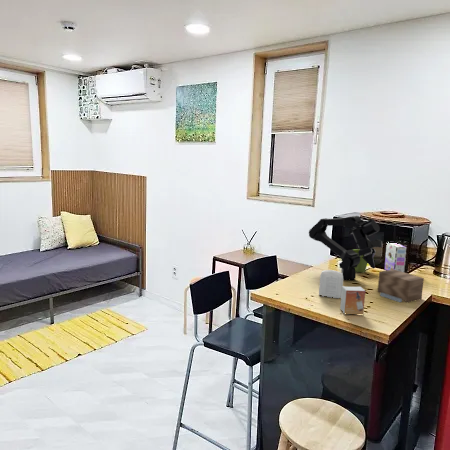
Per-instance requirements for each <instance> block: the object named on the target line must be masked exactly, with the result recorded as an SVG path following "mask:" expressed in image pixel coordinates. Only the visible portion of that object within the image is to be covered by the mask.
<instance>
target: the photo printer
mask: <svg viewBox="0 0 450 450" xmlns="http://www.w3.org/2000/svg"><path fill="white" fill-rule="evenodd" d="M342 286H344V280H343V273H341V271H338V270H333V269H326V270H322V271H321V272H320V276H319V287H318V296H319V295H322V296H321V297H324V296H327V297H326V298H332V297H333V299H339V298H341V293H342Z"/></svg>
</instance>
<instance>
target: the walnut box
mask: <svg viewBox="0 0 450 450" xmlns="http://www.w3.org/2000/svg"><path fill="white" fill-rule="evenodd" d="M424 280H425V279H424V278H423V277H422V276H417V275H414V274H411V273H408V272H405V271H404V272H401V271H397V270H394V269H392V270H387V271H386V270H383V271H378V281H377V282H378V284H377V292H378V293H379V294H380V293H385V294H388V295H391V296H394V297H397V298H400V299H402V302H405V303H407V302H408V303H412V302H415V300H416V301H418V300H419V299H420V300H422V297H423V288H424V287H423V286H424ZM411 301H412V302H411Z"/></svg>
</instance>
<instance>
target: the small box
mask: <svg viewBox="0 0 450 450" xmlns="http://www.w3.org/2000/svg"><path fill="white" fill-rule="evenodd" d="M365 298H366V290H365V289H364V288H363V287H362V286H345V285H343V286H342V293H341V299H340V308H339V310H340V309H341V310H342V311H343V313H344V314H345V313H346V314H363V315H364V310H365V301H366V300H365ZM341 310H340V311H341ZM343 313H342V314H343ZM344 314H343V315H344Z"/></svg>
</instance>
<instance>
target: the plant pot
mask: <svg viewBox="0 0 450 450" xmlns="http://www.w3.org/2000/svg"><path fill="white" fill-rule="evenodd" d="M352 250H353V251H354V252H356V253H358V251H359V250H360V249H352ZM357 255H359V254H357ZM362 257H363V255H362V256H360V263H359V264H358V265H357V267H355V271H356V273H365V272H366V269H367V266H368V263H367V262H366V261H365V260H364V259H363V258H362Z"/></svg>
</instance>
